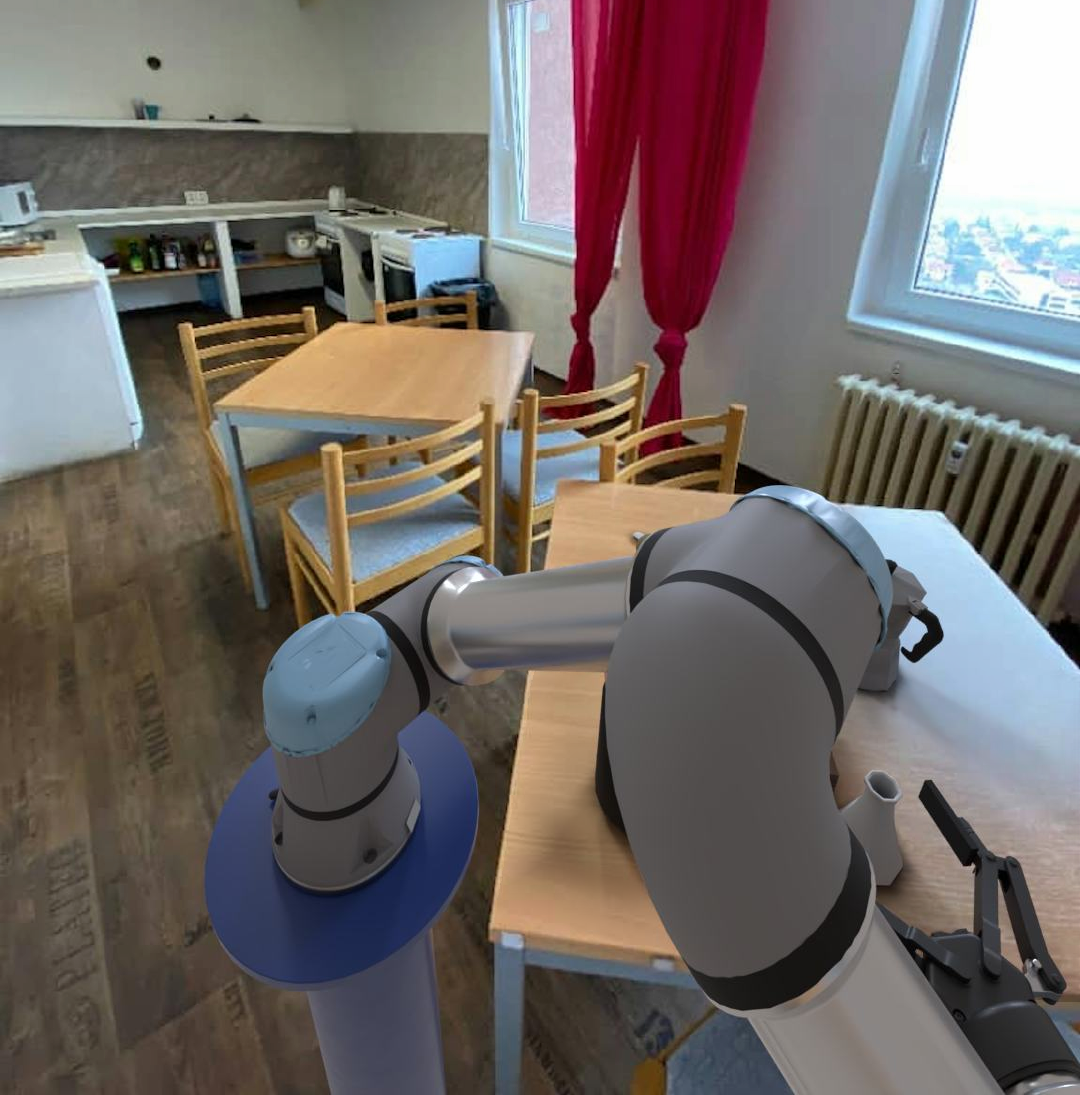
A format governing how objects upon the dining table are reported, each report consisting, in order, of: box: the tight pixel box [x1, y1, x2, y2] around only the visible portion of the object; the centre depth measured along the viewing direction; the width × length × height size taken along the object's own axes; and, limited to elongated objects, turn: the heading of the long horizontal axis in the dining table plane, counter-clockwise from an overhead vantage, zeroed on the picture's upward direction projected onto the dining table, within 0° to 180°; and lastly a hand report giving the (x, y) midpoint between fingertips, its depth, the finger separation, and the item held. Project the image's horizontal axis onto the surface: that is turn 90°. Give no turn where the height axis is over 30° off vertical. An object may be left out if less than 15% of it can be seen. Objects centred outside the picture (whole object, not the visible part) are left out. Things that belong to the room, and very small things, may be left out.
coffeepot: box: [858, 558, 945, 692], centre depth 80 cm, size 15×9×18 cm, turn 17°
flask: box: [838, 769, 904, 886], centre depth 61 cm, size 7×7×10 cm
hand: (863, 793), depth 63 cm, fingers open, 13 cm apart
